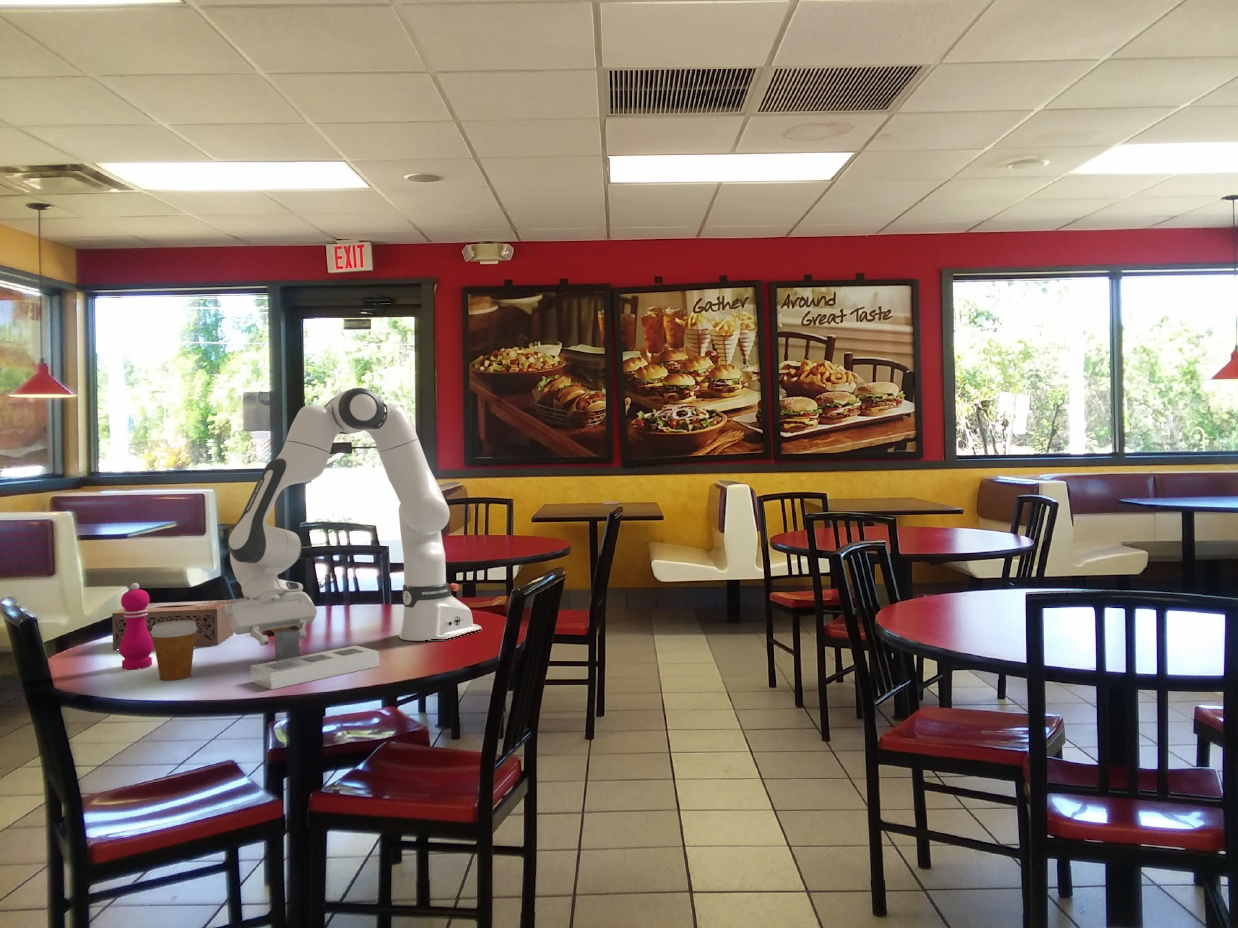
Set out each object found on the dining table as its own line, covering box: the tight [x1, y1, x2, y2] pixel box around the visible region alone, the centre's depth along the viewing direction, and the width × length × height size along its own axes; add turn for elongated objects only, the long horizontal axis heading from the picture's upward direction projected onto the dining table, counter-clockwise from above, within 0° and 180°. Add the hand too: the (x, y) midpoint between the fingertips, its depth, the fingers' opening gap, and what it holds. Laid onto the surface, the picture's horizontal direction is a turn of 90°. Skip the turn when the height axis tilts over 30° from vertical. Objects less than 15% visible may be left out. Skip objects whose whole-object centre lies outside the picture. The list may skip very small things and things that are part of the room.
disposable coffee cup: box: [151, 621, 198, 681], centre depth 201 cm, size 10×10×12 cm
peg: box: [273, 629, 300, 661], centre depth 211 cm, size 4×4×8 cm
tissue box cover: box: [111, 599, 235, 651], centre depth 239 cm, size 26×14×10 cm, turn 98°
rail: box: [249, 645, 380, 690], centre depth 202 cm, size 26×10×4 cm, turn 137°
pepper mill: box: [118, 582, 155, 670], centre depth 212 cm, size 7×7×20 cm
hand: (284, 640), depth 212 cm, fingers open, 8 cm apart
